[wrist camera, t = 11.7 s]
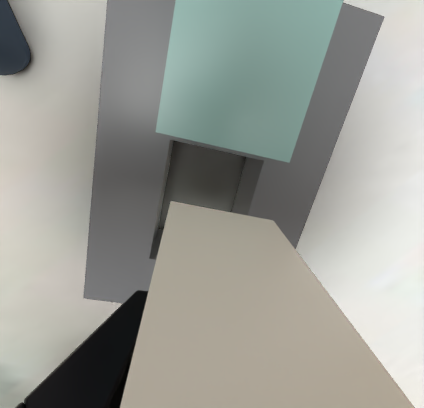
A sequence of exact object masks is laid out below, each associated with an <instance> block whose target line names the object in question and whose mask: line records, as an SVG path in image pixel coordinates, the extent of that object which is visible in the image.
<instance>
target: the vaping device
mask: <svg viewBox="0 0 424 408" xmlns="http://www.w3.org/2000/svg"><path fill="white" fill-rule="evenodd" d="M29 61H30V50H29V47H28V45H27V42H26V40H25V38H24V36H23V34H22V32H21V29H20V27H19V25H18V23H17V21H16V19H15V17H14V14H13V12H12V10H11V8H10V6H9V4H8V1H7V0H0V75H9V74H15V73H17V72H19V71H21V70H22V69H24V68H25V67H26V66H27V65H28V63H29Z"/></svg>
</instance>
